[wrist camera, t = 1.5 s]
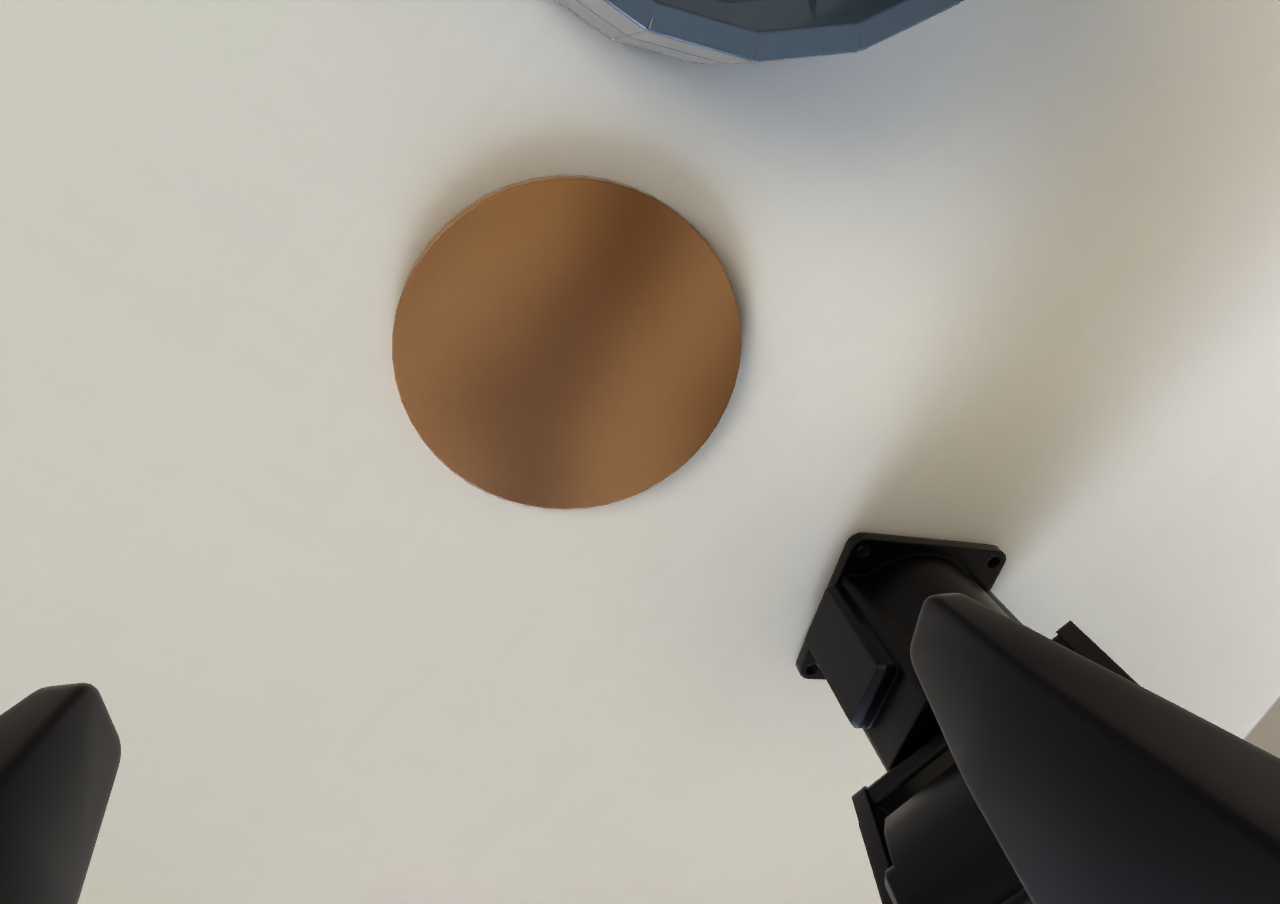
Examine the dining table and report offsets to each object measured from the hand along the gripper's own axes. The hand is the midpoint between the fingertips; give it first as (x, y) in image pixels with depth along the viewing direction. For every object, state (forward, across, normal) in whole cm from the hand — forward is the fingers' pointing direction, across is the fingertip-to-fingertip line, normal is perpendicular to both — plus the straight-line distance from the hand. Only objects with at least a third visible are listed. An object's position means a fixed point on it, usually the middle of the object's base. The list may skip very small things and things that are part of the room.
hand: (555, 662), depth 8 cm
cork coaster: (+13, -2, +1) cm, 13 cm away
